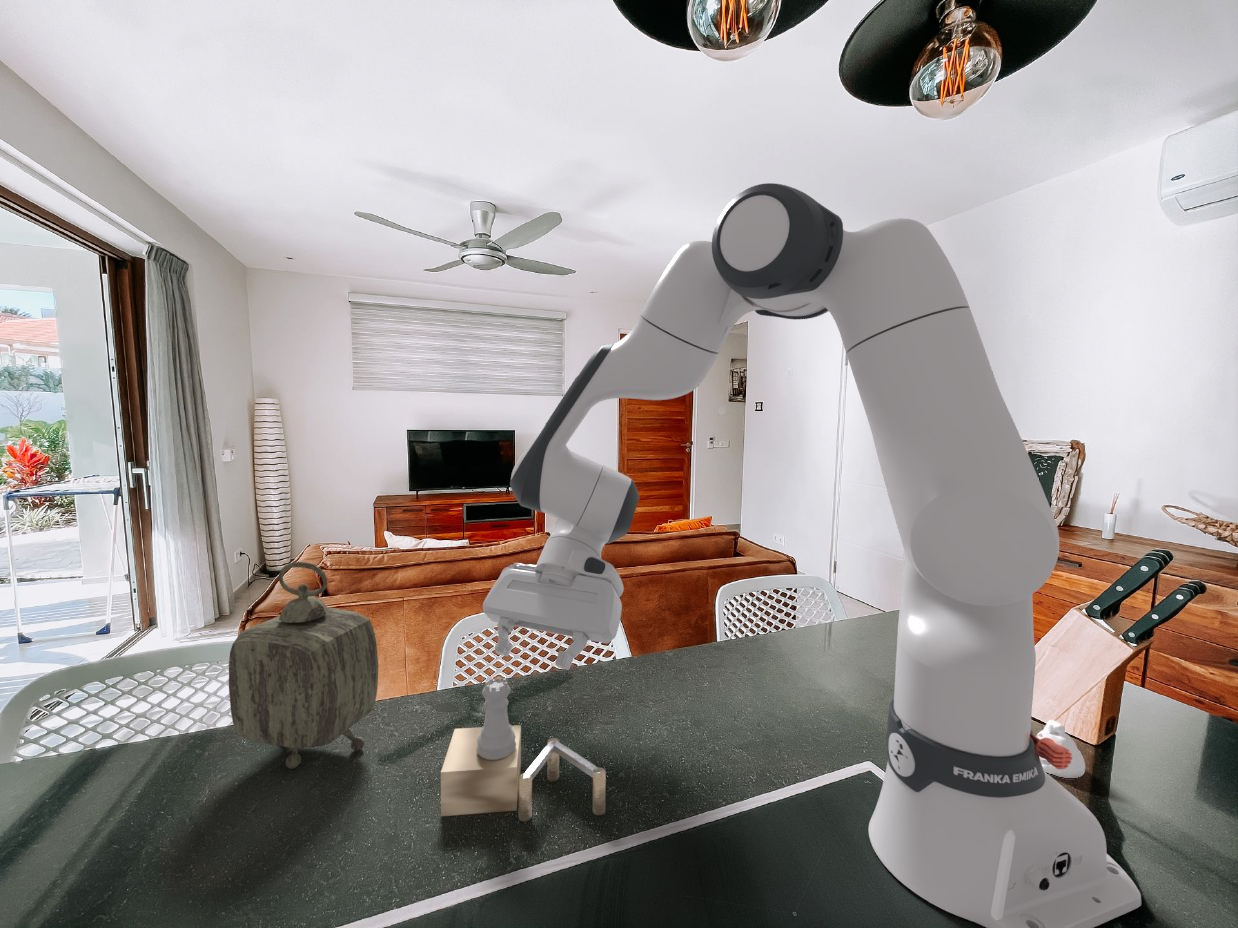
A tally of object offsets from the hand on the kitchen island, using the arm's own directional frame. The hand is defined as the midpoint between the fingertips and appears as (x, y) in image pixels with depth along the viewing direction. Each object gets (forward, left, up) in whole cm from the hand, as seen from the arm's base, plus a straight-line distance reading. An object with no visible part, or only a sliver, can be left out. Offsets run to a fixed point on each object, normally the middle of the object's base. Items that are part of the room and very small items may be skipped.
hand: (530, 660), depth 69 cm
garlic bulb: (-66, +13, -11) cm, 68 cm away
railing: (-3, +11, -11) cm, 16 cm away
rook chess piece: (+3, +10, -6) cm, 12 cm away
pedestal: (+5, +9, -11) cm, 15 cm away
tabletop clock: (+28, +1, -11) cm, 30 cm away
